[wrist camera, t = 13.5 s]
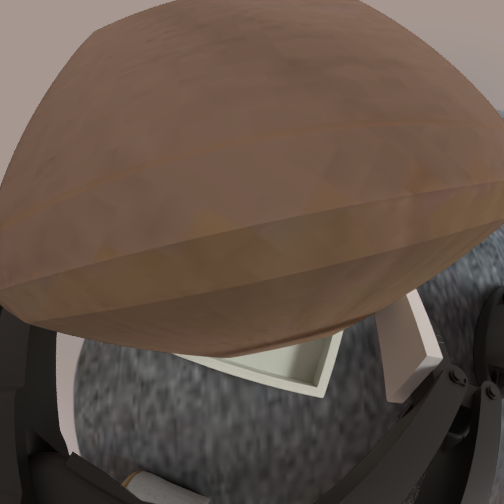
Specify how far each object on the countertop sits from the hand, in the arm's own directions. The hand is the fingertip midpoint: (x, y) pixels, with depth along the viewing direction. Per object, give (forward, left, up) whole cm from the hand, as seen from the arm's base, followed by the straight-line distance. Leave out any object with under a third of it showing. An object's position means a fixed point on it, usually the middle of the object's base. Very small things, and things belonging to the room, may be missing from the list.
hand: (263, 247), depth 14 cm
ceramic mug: (+2, +27, -13) cm, 30 cm away
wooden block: (-1, 0, -9) cm, 9 cm away
